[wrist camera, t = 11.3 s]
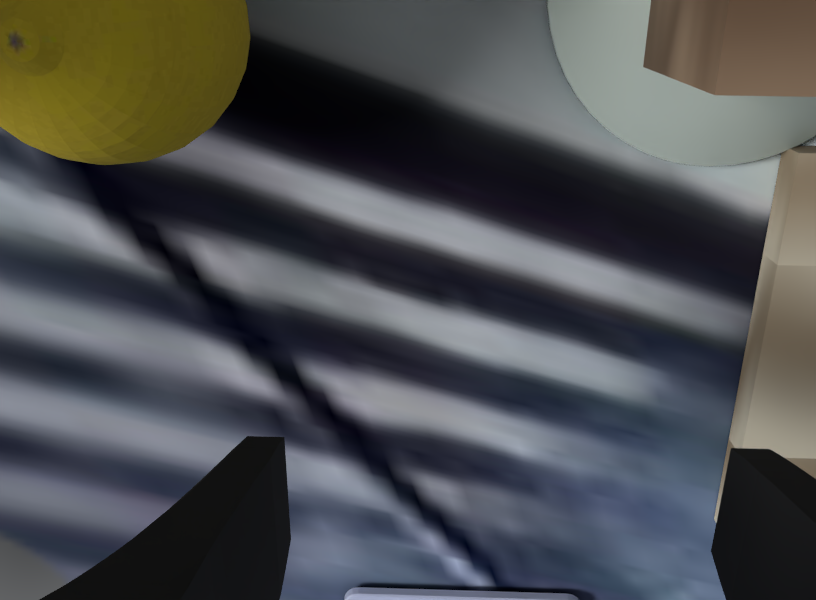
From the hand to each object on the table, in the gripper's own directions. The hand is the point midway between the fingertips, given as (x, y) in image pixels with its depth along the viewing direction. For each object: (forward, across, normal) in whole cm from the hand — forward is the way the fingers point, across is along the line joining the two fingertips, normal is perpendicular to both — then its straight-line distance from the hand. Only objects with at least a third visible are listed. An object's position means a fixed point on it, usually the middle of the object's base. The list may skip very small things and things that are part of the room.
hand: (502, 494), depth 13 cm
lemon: (+11, +8, -7) cm, 15 cm away
